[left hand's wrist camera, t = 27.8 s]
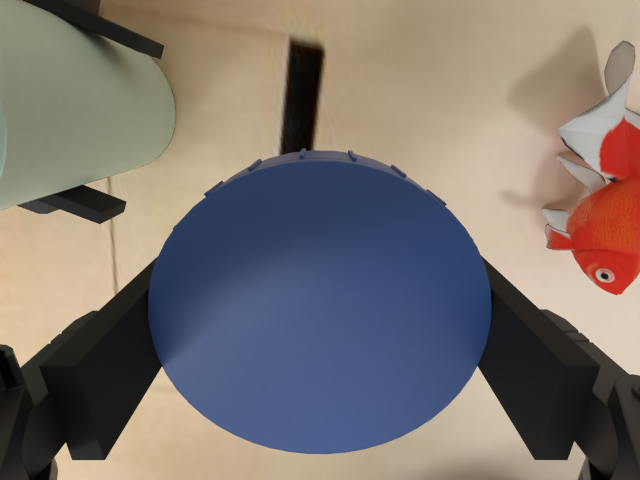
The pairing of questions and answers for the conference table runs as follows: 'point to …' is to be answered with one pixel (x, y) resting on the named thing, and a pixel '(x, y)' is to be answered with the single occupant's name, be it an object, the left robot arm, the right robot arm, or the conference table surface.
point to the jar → (73, 105)
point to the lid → (319, 304)
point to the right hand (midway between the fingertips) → (131, 136)
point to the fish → (604, 184)
